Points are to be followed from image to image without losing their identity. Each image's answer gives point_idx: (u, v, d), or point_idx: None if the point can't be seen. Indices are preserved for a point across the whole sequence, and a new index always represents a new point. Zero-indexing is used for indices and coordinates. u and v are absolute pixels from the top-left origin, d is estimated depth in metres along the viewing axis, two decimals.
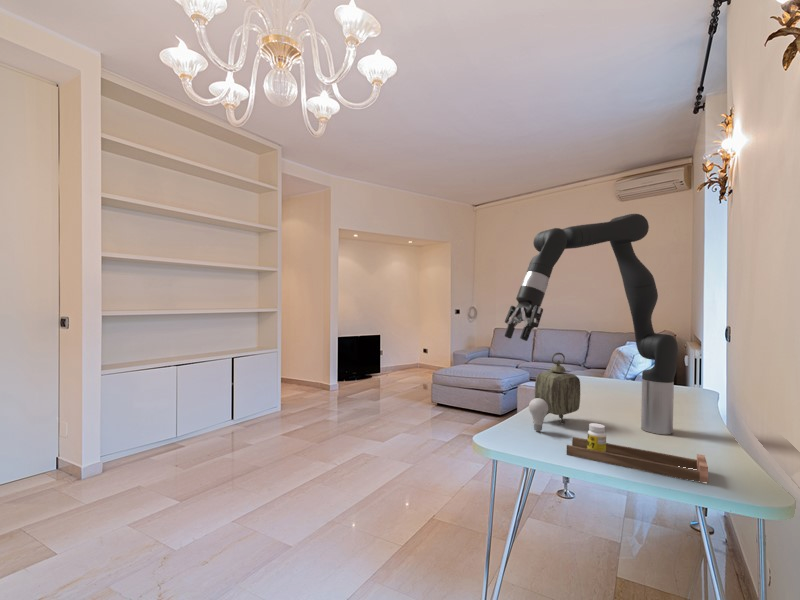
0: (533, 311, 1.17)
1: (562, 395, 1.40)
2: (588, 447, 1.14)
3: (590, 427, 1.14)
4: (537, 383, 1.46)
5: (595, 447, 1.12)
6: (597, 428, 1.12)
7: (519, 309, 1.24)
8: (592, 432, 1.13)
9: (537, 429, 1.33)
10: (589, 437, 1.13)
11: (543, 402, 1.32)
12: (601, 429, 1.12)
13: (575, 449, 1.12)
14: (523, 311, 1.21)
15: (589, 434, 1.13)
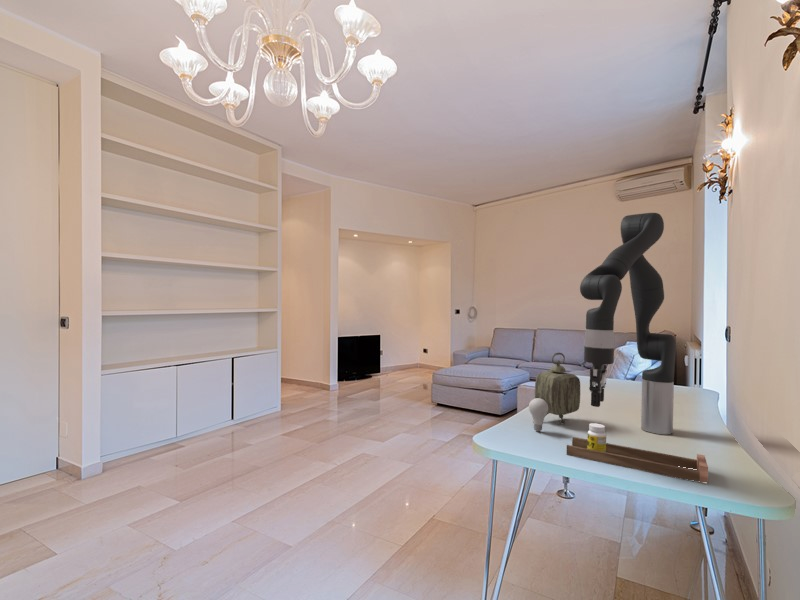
0: None
1: (562, 395, 1.40)
2: (588, 447, 1.14)
3: (590, 427, 1.14)
4: (537, 383, 1.46)
5: (594, 447, 1.12)
6: (597, 428, 1.12)
7: None
8: (592, 432, 1.13)
9: (537, 429, 1.33)
10: (589, 437, 1.13)
11: (543, 402, 1.32)
12: (601, 429, 1.12)
13: (575, 449, 1.12)
14: None
15: (589, 434, 1.13)
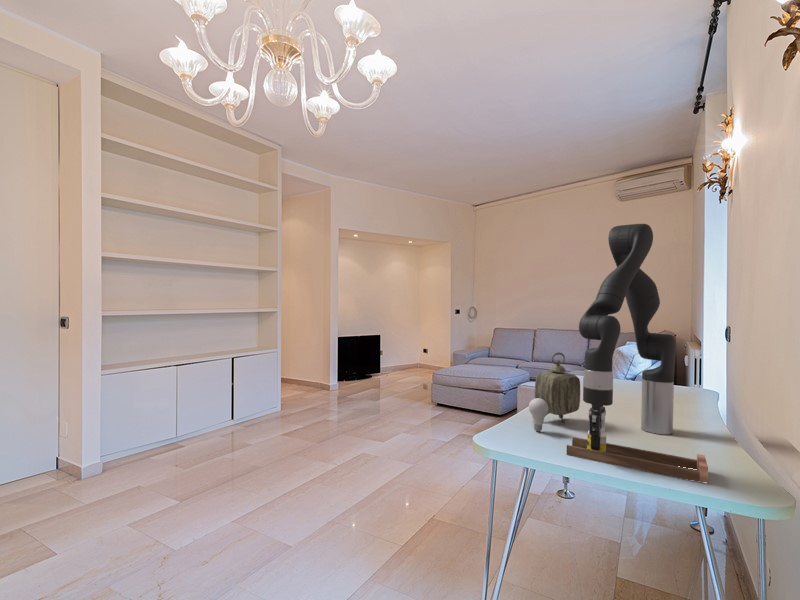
0: None
1: (562, 395, 1.40)
2: (588, 447, 1.14)
3: None
4: (537, 383, 1.46)
5: None
6: None
7: None
8: None
9: (537, 429, 1.33)
10: (589, 437, 1.13)
11: (543, 402, 1.32)
12: (601, 429, 1.12)
13: (575, 449, 1.12)
14: None
15: (589, 434, 1.13)
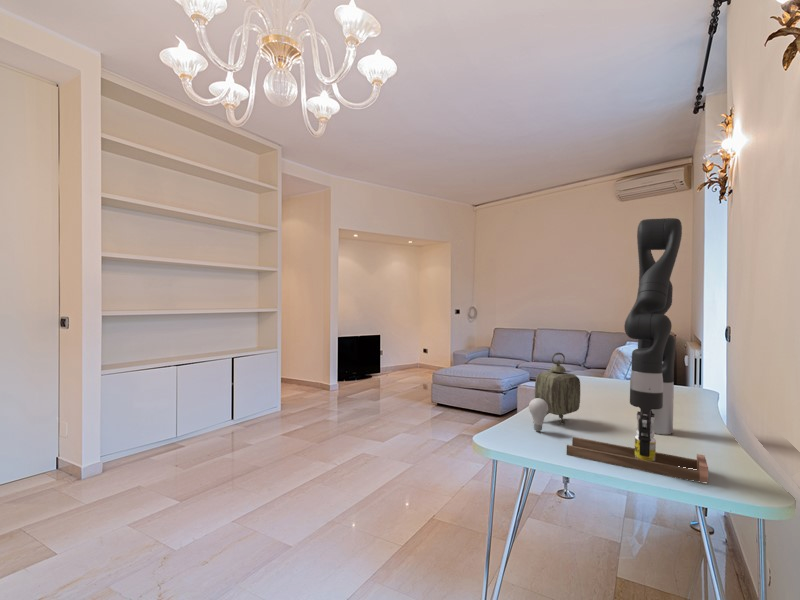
0: (639, 424, 1.04)
1: (562, 395, 1.40)
2: (636, 453, 1.08)
3: (638, 432, 1.07)
4: (537, 383, 1.46)
5: None
6: (646, 433, 1.06)
7: (639, 413, 1.09)
8: None
9: (537, 429, 1.33)
10: (637, 442, 1.07)
11: (543, 402, 1.32)
12: (650, 434, 1.06)
13: (575, 449, 1.12)
14: (637, 419, 1.07)
15: (637, 439, 1.07)
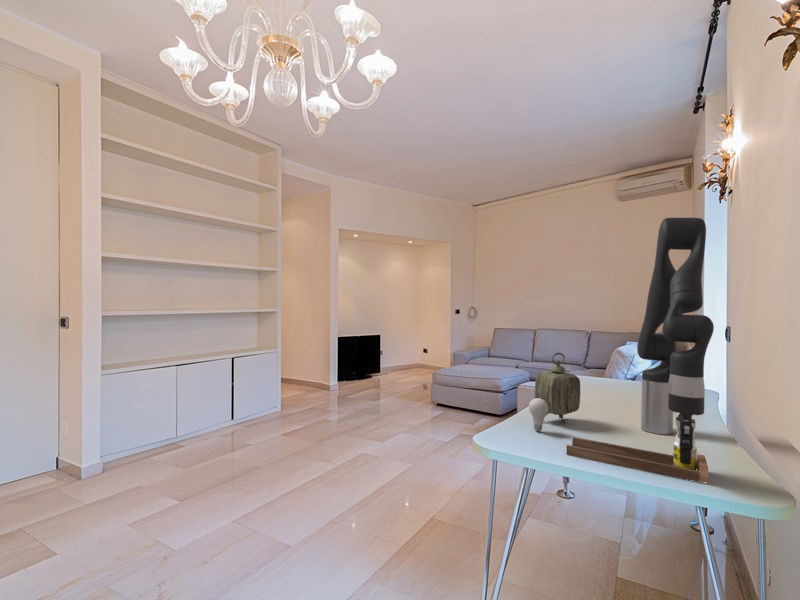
0: (680, 431, 0.99)
1: (562, 395, 1.40)
2: (675, 460, 1.03)
3: (678, 438, 1.03)
4: (537, 383, 1.46)
5: None
6: (687, 440, 1.01)
7: None
8: None
9: (537, 429, 1.33)
10: (677, 449, 1.02)
11: (543, 402, 1.32)
12: None
13: (575, 449, 1.12)
14: (677, 425, 1.02)
15: (677, 446, 1.02)
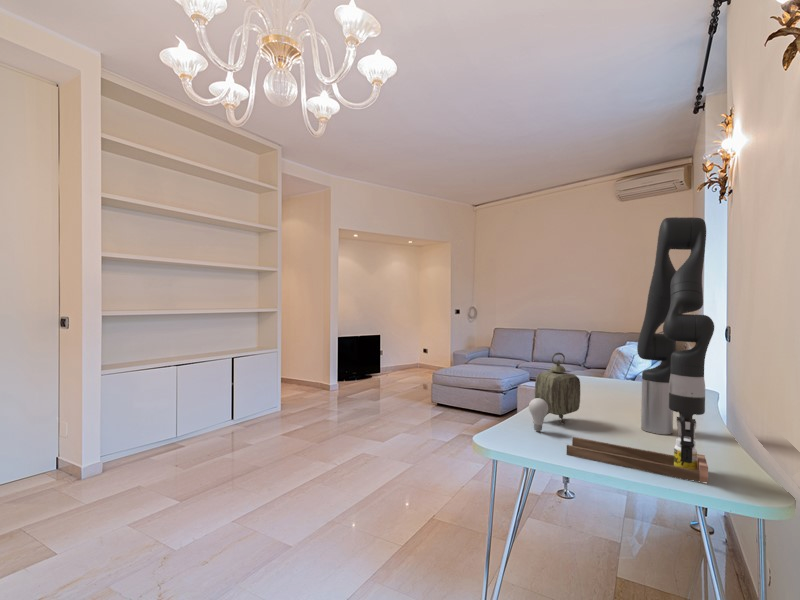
0: (681, 428, 0.98)
1: (562, 395, 1.40)
2: (676, 464, 1.03)
3: (678, 442, 1.03)
4: (537, 383, 1.46)
5: (685, 464, 1.01)
6: None
7: None
8: None
9: (537, 429, 1.33)
10: (677, 453, 1.02)
11: (543, 402, 1.32)
12: None
13: (575, 449, 1.12)
14: (677, 425, 1.02)
15: (677, 450, 1.02)
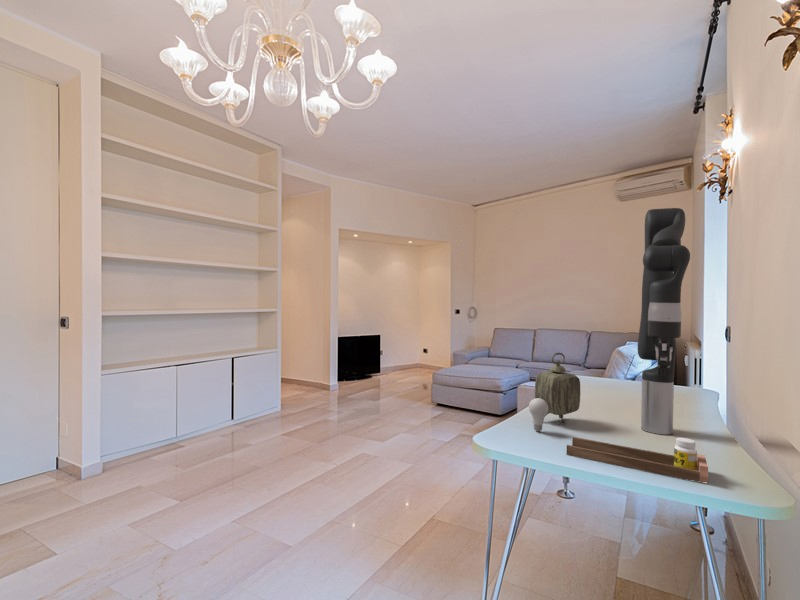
0: (658, 349, 1.05)
1: (562, 395, 1.40)
2: (676, 464, 1.03)
3: (678, 442, 1.03)
4: (537, 383, 1.46)
5: (685, 464, 1.01)
6: (687, 443, 1.01)
7: None
8: (681, 448, 1.02)
9: (537, 429, 1.33)
10: (677, 453, 1.02)
11: (543, 402, 1.32)
12: (692, 444, 1.01)
13: (575, 449, 1.12)
14: (655, 349, 1.09)
15: (677, 450, 1.02)
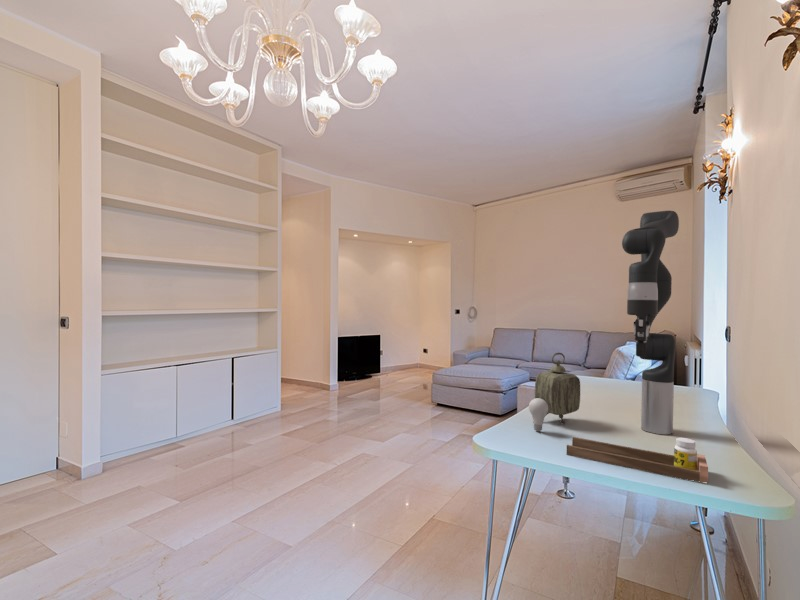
0: (635, 325, 1.12)
1: (562, 395, 1.40)
2: (676, 464, 1.03)
3: (678, 442, 1.03)
4: (537, 383, 1.46)
5: (685, 464, 1.01)
6: (687, 443, 1.01)
7: None
8: (681, 448, 1.02)
9: (537, 429, 1.33)
10: (677, 453, 1.02)
11: (543, 402, 1.32)
12: (692, 444, 1.01)
13: (575, 449, 1.12)
14: (634, 326, 1.16)
15: (677, 450, 1.02)
